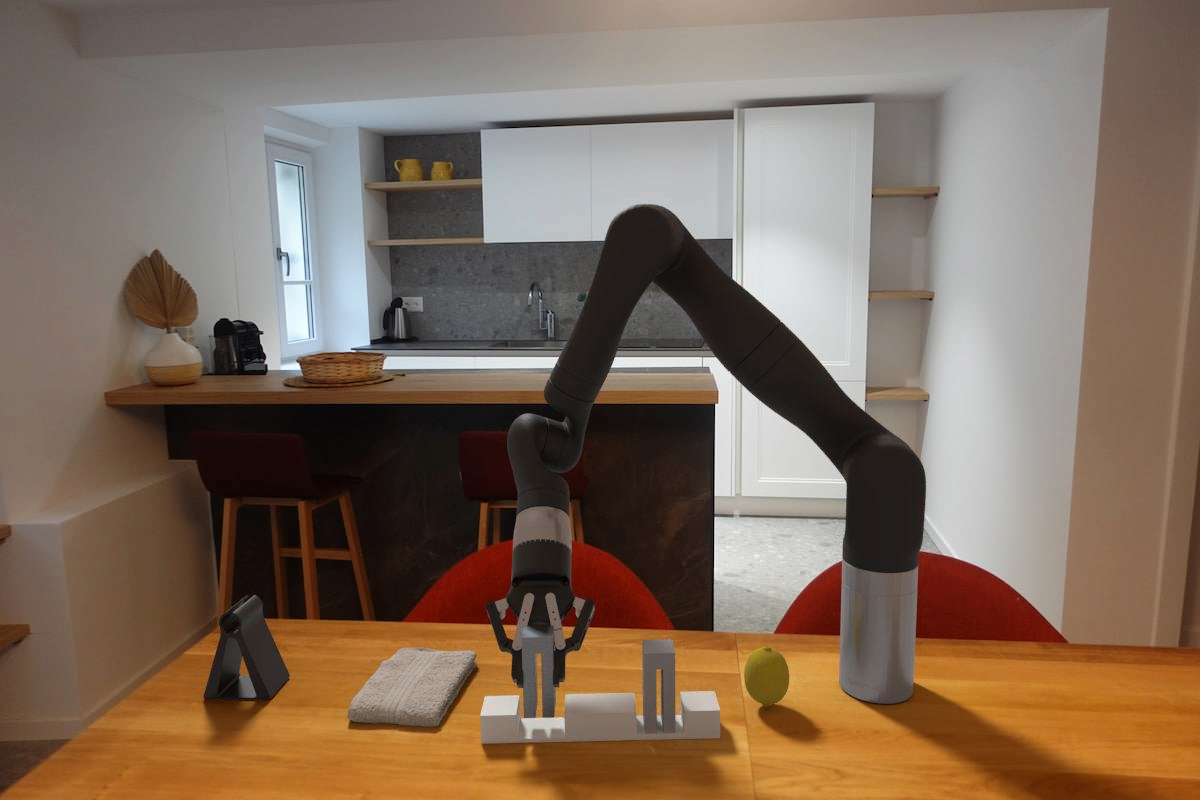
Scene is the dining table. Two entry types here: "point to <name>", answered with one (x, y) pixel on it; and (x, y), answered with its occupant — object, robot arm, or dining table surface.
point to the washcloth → (413, 687)
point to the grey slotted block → (534, 643)
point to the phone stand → (245, 656)
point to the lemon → (766, 676)
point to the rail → (611, 711)
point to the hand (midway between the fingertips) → (538, 685)
